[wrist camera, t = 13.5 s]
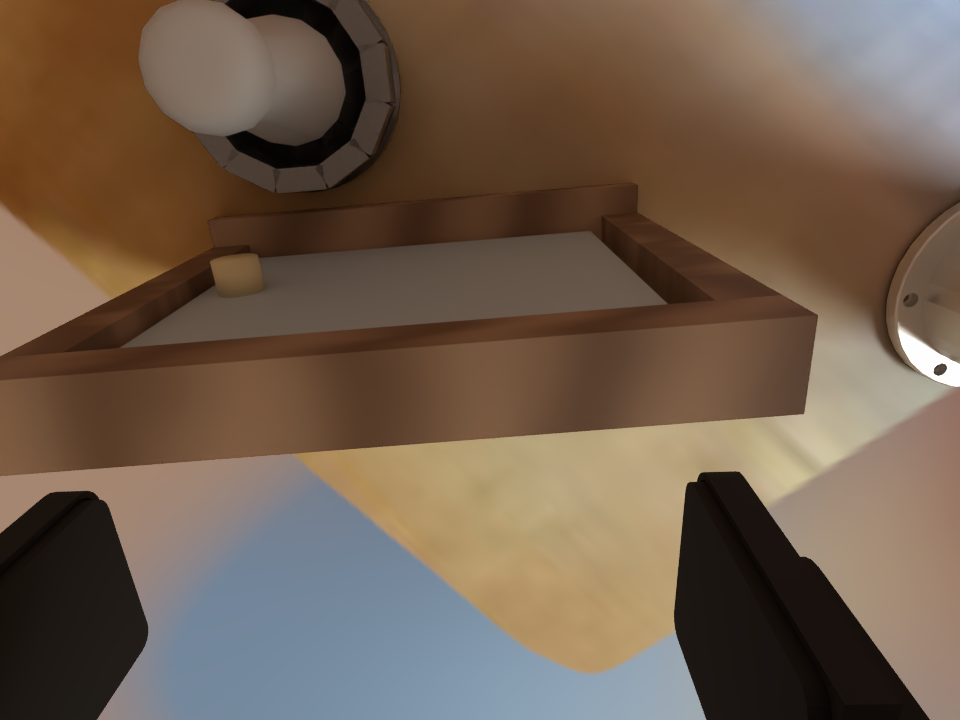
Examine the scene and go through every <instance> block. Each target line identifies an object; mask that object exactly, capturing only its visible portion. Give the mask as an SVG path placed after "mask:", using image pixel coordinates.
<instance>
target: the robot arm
mask: <svg viewBox="0 0 960 720" xmlns="http://www.w3.org/2000/svg"><path fill="white" fill-rule="evenodd" d="M886 322H887V327H888V333H889V337H890V339H891V341H892V344H893V346H894V348H895V350H896V352H897V353H898V354H899V356H900V357H901V358H902V359H903V361H904V362H905V363H906V364H907V365H909V366H910V367H911V368H913V369H914V370H915V371H917V372H918V373H920V374H922V375H923V376H925V377H927V378H929V379H930V380H933V381H935V382H938V383H941V384H945V385H948V386H953V387H960V202H959V203H957V204H956V205H954V206H953V207H951V208H949V209H948V210H946V211H945V212H943V213H942V214H941V215H940V216H939V217H938V218H937V219H935V220H934V221H933V222H932V223H931V224H930V225H928V226H927V227H926V228H925V230H924V231H923V232H922V233H921V234H920V235H919V236H918V238H917V239H916V240H915V241H914V242H913V243H912V245H911V246H910V248H909V249H908V251H907V252H906V254H905V256H904V257H903V259H902V260H901V262H900V263H899V266H898V268H897V270H896V273H895V275H894V277H893V280H892V282H891V286H890V290H889V294H888V299H887V309H886ZM674 623H675V630H676V634H677V638H678V641H679V644H680V647H681V650H682V652H683V655H684V658H685V661H686V663H687V666H688V669H689V672H690V675H691V678H692V680H693V683H694V686H695V689H696V692H697V694H698V697H699V700H700V703H701V706H702V708H703V711H704V714H705V717H706V719H707V720H930V719H929V718H928V717H927V715H926V714H925V712H924V711H923V710H922V708H921V707H920V705H919V704H918V703H917V701H916V700H915V699H914V697H913V696H912V695H911V693H910V692H909V690H908V689H907V688H906V686H905V685H904V684H903V682H902V681H901V680H900V678H899V677H898V675H897V674H896V673H895V671H894V670H893V668H892V667H891V666H890V664H889V663H888V662H887V660H886V659H885V657H884V656H883V655H882V653H881V652H880V651H879V649H878V648H877V646H876V645H875V644H874V642H873V641H872V640H871V638H870V637H869V635H868V634H867V633H866V631H865V630H864V629H863V627H862V626H861V624H860V623H859V622H858V620H857V619H856V618H855V616H854V615H853V614H852V612H851V611H850V609H849V608H848V607H847V605H846V604H845V603H844V601H843V600H842V598H841V597H840V596H839V594H838V593H837V591H836V590H835V589H834V587H833V586H832V585H831V584H830V582H829V581H828V579H827V578H826V577H825V575H824V574H823V572H822V571H821V570H820V568H819V567H818V566H817V565H816V564H815V563H814V562H813V561H812V560H811V559H809V558H807V557H800V556H799V555H798V553H797V552H796V550H795V549H794V548H793V546H792V545H791V543H790V542H789V540H788V539H787V538H786V536H785V535H784V533H783V532H782V531H781V529H780V528H779V526H778V525H777V523H776V522H775V521H774V519H773V518H772V516H771V515H770V514H769V512H768V511H767V509H766V508H765V506H764V505H763V503H762V502H761V501H760V499H759V498H758V496H757V495H756V493H755V492H754V491H753V489H752V488H751V486H750V485H749V483H748V482H747V481H746V479H745V478H744V476H743V475H742V474H741V473H740V472H703V473H701V474H699V477H698V480H697V482H689V483H688V484H687V486H686V492H685V503H684V514H683V524H682V535H681V545H680V556H679V567H678V577H677V588H676V599H675V609H674ZM147 637H148V624H147V621H146V618H145V615H144V612H143V609H142V606H141V603H140V600H139V597H138V594H137V591H136V588H135V585H134V582H133V579H132V576H131V573H130V570H129V567H128V564H127V561H126V558H125V555H124V552H123V549H122V546H121V543H120V540H119V537H118V534H117V532H116V528H115V525H114V522H113V519H112V516H111V513H110V510H109V507H108V505H107V504H106V503H105V502H104V501H103V500H99V498H98V496H97V495H96V494H94V493H93V492H90V491H71V492H54V493H49V494H48V495H46V496H45V497H43V498H42V499H41V500H40V501H39V502H37V503H36V504H35V505H34V506H33V507H31V508H30V509H29V510H28V511H27V512H26V513H24V514H23V515H22V516H21V517H20V518H18V519H17V520H16V521H15V522H13V523H12V524H11V525H10V526H9V527H8V528H6V529H5V530H4V531H3V532H2V533H0V720H97V719H98V717H99V715H100V714H101V712H102V711H103V709H104V708H105V706H106V705H107V703H108V702H109V700H110V699H111V697H112V696H113V694H114V693H115V691H116V690H117V688H118V687H119V685H120V684H121V682H122V681H123V679H124V678H125V676H126V675H127V673H128V672H129V670H130V669H131V667H132V665H133V664H134V662H135V661H136V659H137V658H138V656H139V655H140V653H141V652H142V650H143V648H144V647H145V644H146V641H147Z"/></svg>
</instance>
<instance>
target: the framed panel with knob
mask: <svg viewBox="0 0 960 720" xmlns="http://www.w3.org/2000/svg"><path fill="white" fill-rule="evenodd" d="M637 198H638V185H636V184H634V183H624V184H612V185H600V186H588V187H576V188H564V189H552V190H540V191H528V192H516V193H504V194H492V195H480V196H468V197H456V198H444V199H432V200H419V201H407V202H395V203H383V204H371V205H359V206H347V207H335V208H323V209H311V210H299V211H287V212H275V213H263V214H251V215H239V216H227V217H216V218H213V219H211V220H208V225H209V229H210V233H211V237H212V241H213V245H214V248H212V249H210V250H208V251H206V252H204V253H202V254H200V255H198V256H196V257H194V258H192V259H190V260H189V261H187V262H185V263H183V264H181V265H179V266H177V267H175V268H173V269H171V270H169V271H167V272H165V273H163V274H161V275H159V276H157V277H155V278H153V279H151V280H149V281H147V282H145V283H143V284H141V285H140V286H138V287H136V288H134V289H132V290H130V291H128V292H126V293H124V294H122V295H120V296H118V297H116V298H114V299H112V300H110V301H108V302H106V303H104V304H102V305H100V306H99V307H96V308H94V309H92V310H90V311H89V312H87V313H85V314H83V315H81V316H79V317H77V318H75V319H73V320H71V321H69V322H67V323H65V324H63V325H61V326H59V327H57V328H55V329H53V330H51V331H50V332H47V333H46V334H43V335H42V336H40V337H38V338H36V339H34V340H32V341H30V342H28V343H26V344H24V345H22V346H20V347H18V348H16V349H14V350H12V351H10V352H8V353H6V354H4V355H2V356H0V476H7V475H20V474H34V473H46V472H60V471H71V470H85V469H97V468H110V467H124V466H137V465H150V464H163V463H175V462H189V461H201V460H215V459H228V458H241V457H254V456H266V455H280V454H293V453H306V452H319V451H332V450H345V449H357V448H370V447H383V446H396V445H409V444H422V443H435V442H448V441H461V440H474V439H487V438H500V437H513V436H526V435H539V434H552V433H565V432H578V431H591V430H604V429H617V428H629V427H642V426H655V425H668V424H681V423H694V422H707V421H720V420H733V419H746V418H759V417H772V416H785V415H798V414H804V411H805V404H806V396H807V389H808V382H809V375H810V368H811V361H812V354H813V347H814V340H815V333H816V326H817V319H818V315H816V314H815V313H813V312H811V311H809V310H808V309H806V308H804V307H802V306H801V305H799V304H797V303H795V302H794V301H792V300H790V299H788V298H786V297H785V296H783V295H781V294H779V293H778V292H776V291H774V290H772V289H771V288H769V287H767V286H765V285H764V284H762V283H760V282H758V281H757V280H755V279H753V278H751V277H750V276H748V275H746V274H744V273H742V272H741V271H739V270H737V269H735V268H734V267H732V266H730V265H728V264H727V263H725V262H723V261H721V260H720V259H718V258H716V257H714V256H713V255H711V254H709V253H707V252H706V251H704V250H702V249H700V248H699V247H697V246H695V245H693V244H691V243H690V242H688V241H686V240H684V239H683V238H681V237H679V236H677V235H676V234H674V233H672V232H670V231H669V230H667V229H665V228H663V227H662V226H660V225H658V224H656V223H655V222H653V221H651V220H649V219H648V218H646V217H644V216H642V215H640V214H639V213H637ZM583 231H591V232H592V233H593V234H594V235H595V236H596V237H597V238H598V239H599V240H600V241H602V242H603V243H604V244H605V245H606V246H607V247H608V248H609V249H610V250H611V251H612V252H613V253H614V254H615V255H616V256H617V257H619V258H620V259H621V260H622V261H623V262H624V263H625V264H626V265H627V266H628V267H629V268H630V269H631V270H632V271H633V272H634V273H636V274H637V275H638V276H639V277H640V278H641V279H642V280H643V281H644V282H645V283H646V284H647V285H648V286H649V287H650V288H652V289H653V290H654V291H655V292H656V293H657V294H658V295H659V296H660V297H661V298H662V299H663V300H664V301H665V302H666V303H667V304H664V305H651V306H639V307H626V308H614V309H601V310H589V311H576V312H564V313H551V314H539V315H526V316H514V317H501V318H489V319H476V320H464V321H451V322H439V323H426V324H414V325H402V326H389V327H377V328H364V329H352V330H339V331H327V332H314V333H302V334H289V335H277V336H264V337H252V338H239V339H227V340H214V341H202V342H189V343H177V344H164V345H152V346H139V347H127V348H120V347H122V346H123V345H125V344H126V343H128V342H129V341H131V340H132V339H134V338H135V337H137V336H138V335H140V334H142V333H143V332H145V331H146V330H148V329H149V328H151V327H152V326H154V325H155V324H157V323H158V322H160V321H161V320H163V319H164V318H166V317H167V316H169V315H170V314H172V313H173V312H175V311H176V310H178V309H179V308H181V307H182V306H184V305H185V304H187V303H188V302H190V301H192V300H193V299H195V298H196V297H198V296H199V295H201V294H202V293H204V292H205V291H207V290H208V289H210V288H211V287H213V286H214V285H216V284H215V280H214V276H213V272H212V268H211V264H210V261H212V260H214V259H216V258H220V257H224V256H229V255H235V254H245V253H253V254H257V255H258V258H266V257H278V256H290V255H303V254H315V253H327V252H339V251H351V250H364V249H376V248H388V247H400V246H412V245H425V244H437V243H449V242H461V241H473V240H486V239H498V238H510V237H522V236H534V235H547V234H559V233H571V232H583Z"/></svg>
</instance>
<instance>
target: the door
mask: <svg viewBox="0 0 960 720" xmlns="http://www.w3.org/2000/svg"><path fill="white" fill-rule="evenodd" d="M210 264H211V268H212V272H213V276H214V280H215V284H216V285H214V286H213V287H211V288H210V289H208V290H207V291H205V292H204V293H202V294H201V295H199V296H198V297H196V298H195V299H193V300H192V301H190V302H188V303H187V304H185V305H184V306H182V307H181V308H179V309H178V310H176V311H175V312H173V313H172V314H170V315H169V316H167V317H166V318H164V319H163V320H161V321H160V322H158V323H157V324H155V325H154V326H152V327H151V328H149V329H148V330H146V331H145V332H143V333H142V334H140V335H138V336H137V337H135V338H134V339H132V340H131V341H129V342H128V343H126V344H125V345H123V346H122V347H120V348H127V347H139V346H152V345H164V344H177V343H189V342H202V341H214V340H227V339H239V338H252V337H264V336H277V335H289V334H302V333H314V332H327V331H339V330H352V329H364V328H377V327H389V326H402V325H414V324H426V323H439V322H451V321H464V320H476V319H489V318H501V317H514V316H526V315H539V314H551V313H564V312H576V311H589V310H601V309H614V308H626V307H639V306H651V305H664V304H667V303H666V302H665V301H664V300H663V299H662V298H661V297H660V296H659V295H658V294H657V293H656V292H655V291H654V290H653V289H652V288H650V287H649V286H648V285H647V284H646V283H645V282H644V281H643V280H642V279H641V278H640V277H639V276H638V275H637V274H636V273H634V272H633V271H632V270H631V269H630V268H629V267H628V266H627V265H626V264H625V263H624V262H623V261H622V260H621V259H620V258H619V257H617V256H616V255H615V254H614V253H613V252H612V251H611V250H610V249H609V248H608V247H607V246H606V245H605V244H604V243H603V242H602V241H600V240H599V239H598V238H597V237H596V236H595V235H594V234H593V233H592V232H591V231H583V232H571V233H559V234H547V235H534V236H522V237H510V238H498V239H486V240H473V241H461V242H449V243H437V244H425V245H412V246H400V247H388V248H376V249H364V250H351V251H339V252H327V253H315V254H303V255H290V256H278V257H266V258H258V255H257V254H253V253H245V254H235V255H229V256H224V257H220V258H216V259H214V260H212V261H210Z"/></svg>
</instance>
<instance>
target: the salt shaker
mask: <svg viewBox="0 0 960 720" xmlns="http://www.w3.org/2000/svg"><path fill="white" fill-rule="evenodd" d="M138 61H139V65H140V69H141V73H142V77H143V81H144V85H145V89H146V90H147V91H148V93H149V94H150V95H151V97H152V98H153V99H154V101H155V102H156V104H157V105H158V106H159V108H160V109H161V110H162V112H163V113H164V114H165V115H167V116H168V117H170V118H171V119H173V120H174V121H176V122H177V123H179V124H180V125H182V126H183V127H185V128H186V129H188V130H190V131H193V132H195V133H202V134H208V135H215V136H222V137H224V136H229V135H232V134H235V133H238V132H241V131H245V130H246V131H248V132H250V133H252V134H254V135H256V136H258V137H260V138H263V139H265V140H267V141H269V142H273V143H279V144H286V145H292V146H298V145H301V144H304V143H307V142H310V141H313V140H316V139H319V138H321V137H322V136H323V135H324V134H325V133H326V132H327V130H328V129H329V128H330V127H331V126H332V125H333V124H334V123H335V122H336V121H337V120H338V118H339V115H340V111H341V108H342V104H343V101H344V98H345V94H346V91H345V85H344V78H343V71H342V65H341V63H340V61H339V60H338V58H337V56H336V55H335V53H334V51H333V49H332V48H331V46H330V44H329V43H328V41H327V39H326V37H325V36H323V35H322V34H320V33H319V32H318V31H316V30H315V29H313V28H312V27H310V26H309V25H308V24H306V23H305V22H303V21H302V20H299V19H294V18H289V17H284V16H279V15H274V14H272V15H266V16H260V17H255V18H249V19H245V18H244V17H242V16H241V15H240V14H238V13H237V12H235V11H234V10H232V9H231V8H229V7H228V6H226V5H225V4H223V3H221V2H215V1H210V0H177V1H175V2H172V3H170V4H167V5H164V6H162V7H159V9H158V10H157V11H156V12H155V14H154V15H153V16H152V17H151V19H150V20H149V21H148V22H147V24H146V25H145V26H144V27H143V29H142V34H141V40H140V47H139V53H138Z"/></svg>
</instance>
